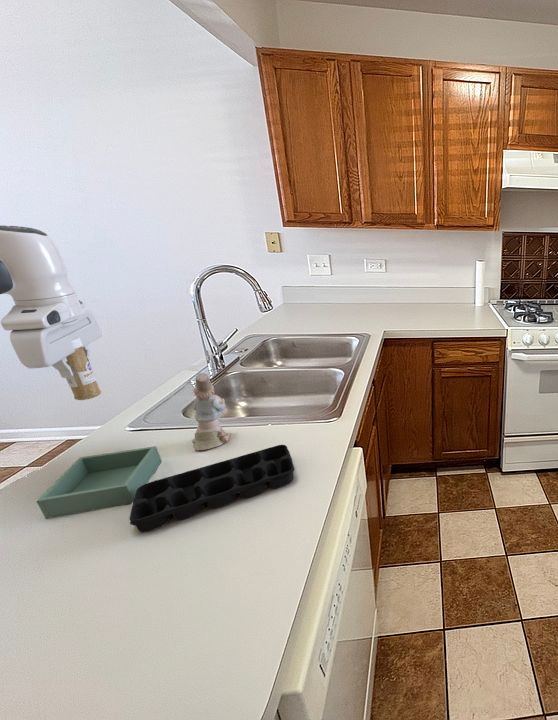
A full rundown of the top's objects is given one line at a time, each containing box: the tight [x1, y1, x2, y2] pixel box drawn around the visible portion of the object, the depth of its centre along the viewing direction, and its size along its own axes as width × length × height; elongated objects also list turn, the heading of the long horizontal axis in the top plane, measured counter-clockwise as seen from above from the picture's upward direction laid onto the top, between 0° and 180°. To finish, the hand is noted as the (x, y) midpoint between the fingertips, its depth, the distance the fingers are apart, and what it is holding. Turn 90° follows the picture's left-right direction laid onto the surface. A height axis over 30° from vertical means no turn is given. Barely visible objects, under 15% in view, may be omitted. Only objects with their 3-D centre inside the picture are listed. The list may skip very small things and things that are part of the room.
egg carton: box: [129, 444, 296, 533], centre depth 85 cm, size 18×30×4 cm, turn 135°
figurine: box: [191, 372, 230, 451], centre depth 99 cm, size 9×8×20 cm
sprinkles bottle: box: [65, 338, 102, 401], centre depth 86 cm, size 5×5×14 cm
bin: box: [36, 445, 162, 519], centre depth 86 cm, size 15×15×4 cm
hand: (77, 371), depth 86 cm, fingers closed on sprinkles bottle, 4 cm apart
